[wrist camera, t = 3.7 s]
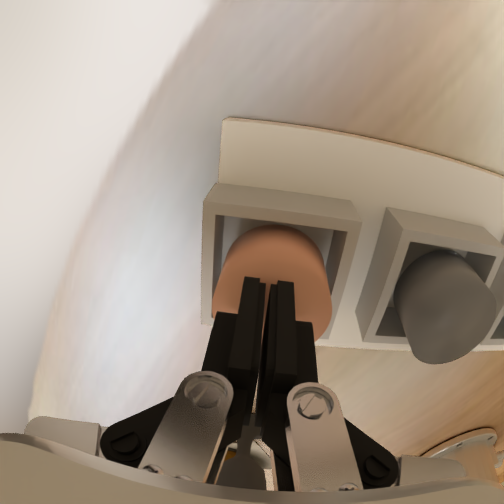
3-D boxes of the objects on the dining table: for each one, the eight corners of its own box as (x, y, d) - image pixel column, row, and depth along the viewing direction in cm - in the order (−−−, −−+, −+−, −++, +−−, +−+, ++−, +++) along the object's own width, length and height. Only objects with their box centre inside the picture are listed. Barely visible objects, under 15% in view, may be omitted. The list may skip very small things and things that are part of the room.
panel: (558, 199, 14) (594, 223, 10) (496, 337, 19) (516, 372, 16) (226, 117, 14) (207, 126, 11) (214, 316, 20) (201, 363, 17)
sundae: (242, 397, 24) (216, 574, 11) (297, 427, 26) (292, 580, 13) (195, 421, 27) (162, 565, 14) (249, 447, 28) (232, 578, 15)
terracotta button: (333, 231, 13) (345, 270, 10) (313, 314, 15) (317, 360, 13) (227, 218, 13) (213, 253, 11) (222, 303, 15) (210, 347, 13)
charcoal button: (481, 255, 13) (511, 289, 10) (449, 325, 15) (469, 363, 12) (410, 243, 13) (435, 280, 10) (381, 320, 15) (395, 364, 12)
